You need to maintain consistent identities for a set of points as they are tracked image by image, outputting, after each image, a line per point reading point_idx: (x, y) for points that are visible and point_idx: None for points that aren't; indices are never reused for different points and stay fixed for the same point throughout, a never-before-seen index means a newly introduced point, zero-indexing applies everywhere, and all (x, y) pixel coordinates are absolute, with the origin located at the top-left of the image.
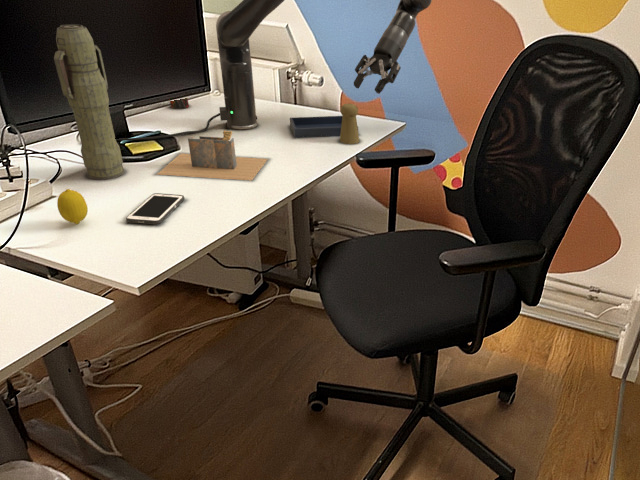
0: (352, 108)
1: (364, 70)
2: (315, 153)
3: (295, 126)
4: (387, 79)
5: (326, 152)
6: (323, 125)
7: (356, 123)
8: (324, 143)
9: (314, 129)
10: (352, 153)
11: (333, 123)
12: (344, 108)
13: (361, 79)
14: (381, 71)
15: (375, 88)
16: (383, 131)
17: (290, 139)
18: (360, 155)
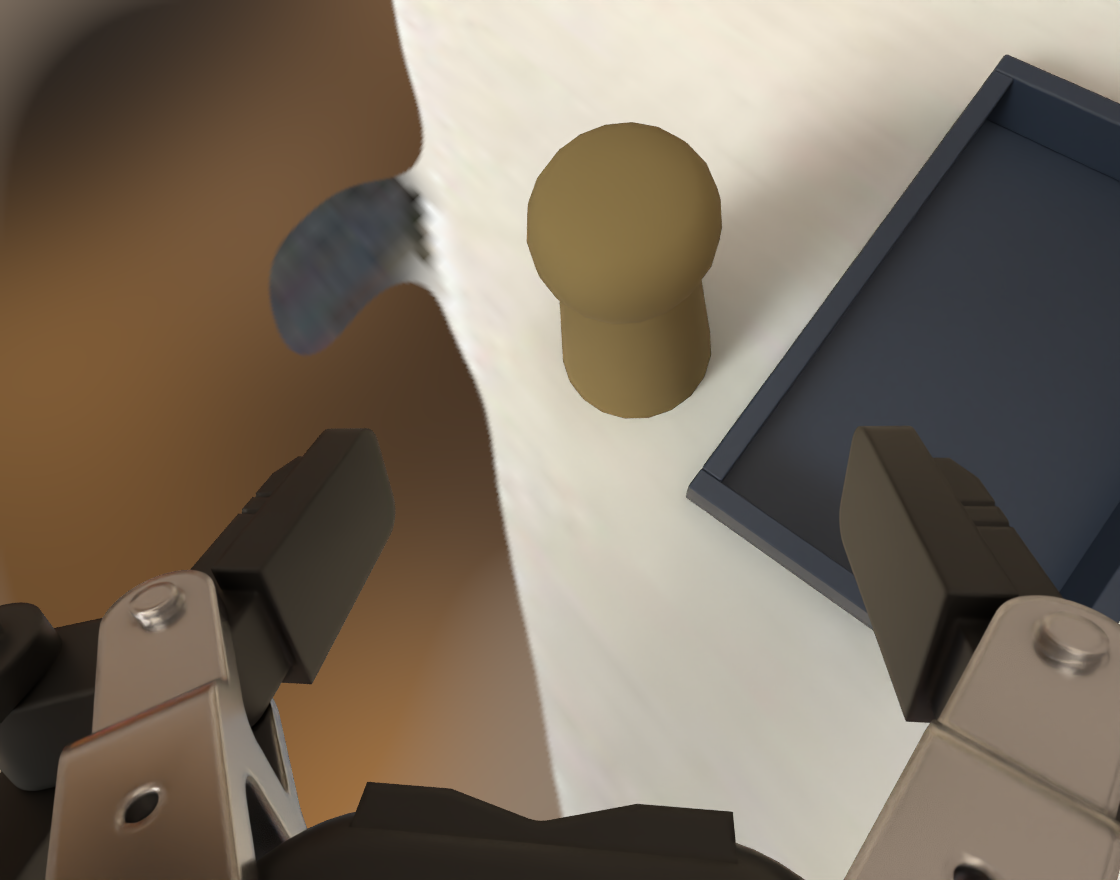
0: (540, 178)
1: (940, 720)
2: (617, 33)
3: (1071, 101)
4: (75, 624)
5: (581, 90)
6: (1082, 446)
7: (564, 313)
8: (723, 185)
9: (909, 186)
10: (450, 192)
11: (1077, 561)
12: (612, 125)
13: (899, 623)
14: (165, 703)
15: (349, 432)
16: (605, 740)
17: (965, 68)
18: (391, 203)
